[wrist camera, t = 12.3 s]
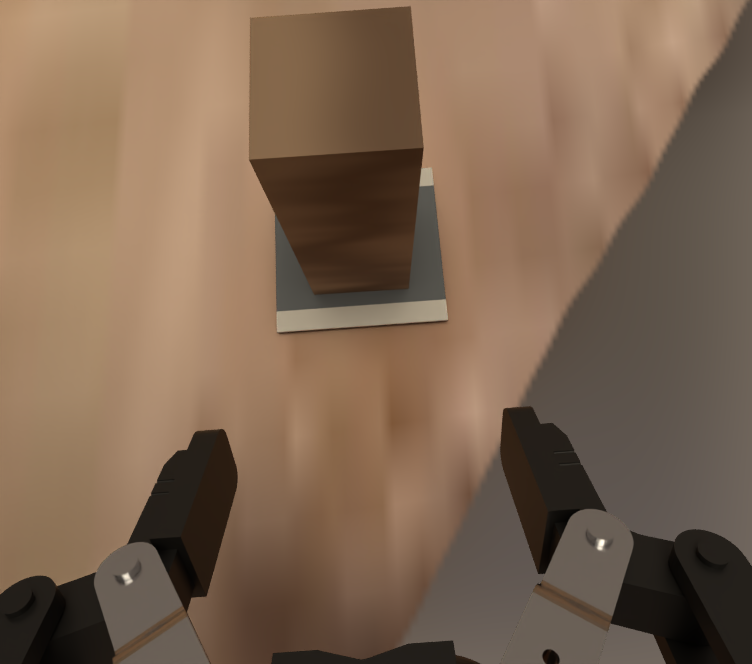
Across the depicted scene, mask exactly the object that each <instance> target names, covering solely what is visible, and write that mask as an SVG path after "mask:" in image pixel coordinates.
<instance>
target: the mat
mask: <svg viewBox="0 0 752 664" xmlns="http://www.w3.org/2000/svg"><path fill="white" fill-rule="evenodd" d="M275 241H276V299H277V333H281V332H295V331H309V330H323V329H337V328H351V327H365V326H379V325H393V324H407V323H421V322H435V321H448V315H447V306H446V297H445V288H444V278H443V269H442V260H441V250H440V241H439V231H438V222H437V212H436V203H435V194H434V184H433V174H432V168H421V177H420V186H419V196H418V205H417V215H416V224H415V233H414V243H413V252H412V262H411V271H410V281H409V289H398V290H382V291H366V292H351V293H335V294H319V295H314V293H313V291H312V289H311V287H310V285H309V283H308V281H307V279H306V277H305V275H304V273H303V271H302V268H301V266H300V264H299V262H298V260H297V258H296V256H295V254H294V252H293V250H292V248H291V246H290V244H289V241H288V239H287V237H286V235H285V233H284V231H283V229H282V227H281V225H280V223H279V221H278V219H277V217H276V215H275Z"/></svg>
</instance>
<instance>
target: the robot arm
mask: <svg viewBox="0 0 752 664" xmlns="http://www.w3.org/2000/svg"><path fill="white" fill-rule="evenodd" d="M500 453H501V461H502V466H503V470H504V473H505V476H506V479H507V482H508V485H509V488H510V491H511V494H512V497H513V500H514V503H515V506H516V509H517V512H518V515H519V518H520V521H521V524H522V527H523V529H524V533H525V536H526V539H527V542H528V544H529V548H530V551H531V554H532V557H533V560H534V562H535V566H536V569H537V572H538V574H545V575H544V578H543V580H542V582H541V583H540V584H537V585H536V586H535V588H534V590H533V592H532V594H531V596H530V598H529V601H528V603H527V605H526V607H525V610H524V611H523V614H522V616H521V618H520V621H519V623H518V625H517V627H516V630H515V632H514V634H513V636H512V638H511V640H510V643H509V645H508V647H507V649H506V652H505V654H504V656H503V658H502V661H501V663H500V664H598V663H599V660H600V656H601V653H602V650H603V646H604V643H605V640H606V636H607V633H608V630H609V626H610V623H611V624H615V625H619V626H623V627H626V628H630V629H635V630H638V631H642V632H646V633H650V634H653V635H654V637H655V639H656V641H657V644H658V646H659V649H660V651H661V653H662V655H663V658H664V660H665V662H666V664H752V566H751V565H750V563H749V562H748V560H747V559H746V557H745V556H744V555H743V553H742V552H741V551H740V550H739V549H738V548H737V547H736V546H735V545H734V544H732V543H731V542H730V541H728V540H727V539H725V538H723V537H721V536H719V535H717V534H715V533H712V532H708V531H705V530H696V529H695V530H687V531H684V532H682V533H681V534H679V535H678V536H677V538H676V539H675V542H673V541H668V540H663V539H658V538H653V537H648V536H644V535H640V534H637V533H635V532H632V531H630V530H629V529H628V528H627V526H626V525H625V524H624V523H623V522H622V521H621V520H619V519H618V518H617V517H615V516H613V515H612V514H609V513H608V512H607V511H606V509H605V508H604V506H603V504H602V502H601V500H600V498H599V496H598V494H597V492H596V491H595V489H594V487H593V485H592V483H591V481H590V479H589V477H588V475H587V473H586V472H585V470H584V468H583V466H582V465H581V463H580V460H579V458H578V456H577V454H576V453H575V452H574V449H573V447H572V445H571V443H570V441H569V439H568V437H567V435H566V434H564V433H563V432H562V431H561V430H560V429H559V428H557V427H556V426H555V425H554V424H553V423H547V424H540V423H539V420H538V418H537V416H536V414H535V412H534V410H533V408H532V407H530V406H529V407H515V408H505V409H504V410H503V418H502V432H501V446H500ZM237 479H238V477H237V467H236V464H235V461H234V457H233V454H232V451H231V448H230V444H229V441H228V438H227V435H226V432H225V431H224V430H223V429H218V430H205V431H196V432H195V433H194V435H193V437H192V440H191V442H190V444H189V447H188V449H187V450H181V451H177V452H176V453H175V454H174V455H173V456H172V457H171V458H170V459H169V460H168V461H167V463H166V464H165V465H164V466H163V469H162V471H161V473H160V475H159V477H158V479H157V483H156V484H155V486H154V488H153V490H152V492H151V496H150V497H149V499H148V501H147V503H146V505H145V507H144V510H143V512H142V514H141V516H140V518H139V520H138V522H137V525H136V527H135V529H134V531H133V533H132V535H131V537H130V540H129V542H128V544H127V545H125V546H123V547H121V548H119V549H117V550H116V551H114V552H113V553H112V554H110V555H109V556H108V557H107V558H106V559H105V560H104V561H103V562H102V564H101V565H100V567H99V568H98V570H97V572H95V573H93V574H90V575H88V576H85V577H82V578H79V579H77V580H74V581H71V582H68V583H65V584H62V585H60V586H56V584H55V583H54V582H53V580H52V579H51V578H49V577H46V576H33V577H29V578H26V579H23V580H21V581H19V582H17V583H15V584H14V585H12V586H11V587H9V588H8V589H6V590H5V591H4V592H3V593H1V594H0V664H211V663H210V661H209V659H208V656H207V654H206V652H205V650H204V648H203V646H202V644H201V642H200V640H199V637H198V635H197V633H196V631H195V629H194V627H193V625H192V623H191V620H190V618H189V616H188V614H187V610H188V607H189V603H190V600H191V597H205V596H207V593H208V589H209V586H210V582H211V578H212V575H213V571H214V568H215V564H216V560H217V557H218V553H219V550H220V546H221V542H222V539H223V535H224V532H225V528H226V524H227V521H228V517H229V514H230V510H231V506H232V503H233V499H234V496H235V492H236V488H237ZM271 664H480V663H478V662H476V661H473V660H471V659H468V658H465V657H462V656H457V655H455V650H454V643H453V641H442V642H426V643H412V644H406V645H404V646H401V647H398V648H395V649H393V650H390V651H387V652H384V653H382V654H379V655H376V656H373V657H371V658H368V659H363V660H360V659H355V658H350V657H346V656H341V655H337V654H332V653H328V652H323V651H319V650H312V651H297V652H283V653H273V656H272V663H271Z"/></svg>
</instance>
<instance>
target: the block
mask: <svg viewBox="0 0 752 664" xmlns="http://www.w3.org/2000/svg"><path fill="white" fill-rule="evenodd" d="M423 148H424V147H423V136H422V125H421V114H420V104H419V93H418V82H417V71H416V60H415V49H414V38H413V27H412V16H411V6H409V7H395V8H381V9H368V10H354V11H340V12H326V13H312V14H299V15H285V16H271V17H257V18H250V102H249V161H250V163H251V165H252V167H253V169H254V171H255V173H256V175H257V177H258V179H259V181H260V183H261V185H262V188H263V190H264V192H265V194H266V196H267V198H268V200H269V202H270V204H271V206H272V208H273V210H274V212H275V215H276V217H277V219H278V221H279V223H280V225H281V227H282V229H283V231H284V233H285V235H286V237H287V239H288V241H289V244H290V246H291V248H292V250H293V252H294V254H295V256H296V258H297V260H298V262H299V264H300V266H301V268H302V271H303V273H304V275H305V277H306V279H307V281H308V283H309V285H310V287H311V289H312V291H313V293H314V295H319V294H335V293H351V292H366V291H382V290H398V289H409V281H410V271H411V262H412V252H413V243H414V233H415V224H416V215H417V205H418V196H419V186H420V177H421V167H422V158H423Z"/></svg>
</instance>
